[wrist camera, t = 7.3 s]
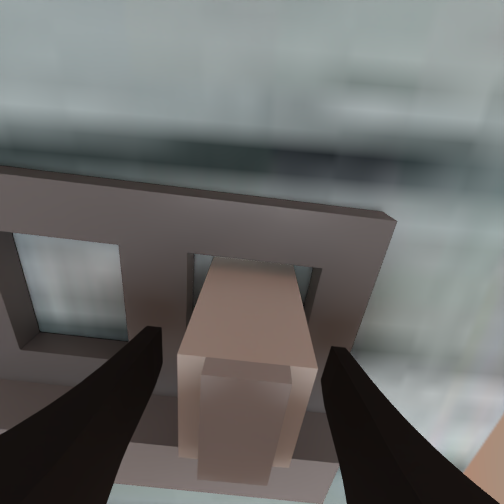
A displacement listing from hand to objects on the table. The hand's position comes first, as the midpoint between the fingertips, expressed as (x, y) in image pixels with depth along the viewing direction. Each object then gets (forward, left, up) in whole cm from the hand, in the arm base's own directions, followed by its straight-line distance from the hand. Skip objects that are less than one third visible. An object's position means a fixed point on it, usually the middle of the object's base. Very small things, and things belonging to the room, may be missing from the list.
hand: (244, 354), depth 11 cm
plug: (0, 0, -3) cm, 4 cm away
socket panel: (-5, -2, -3) cm, 6 cm away
